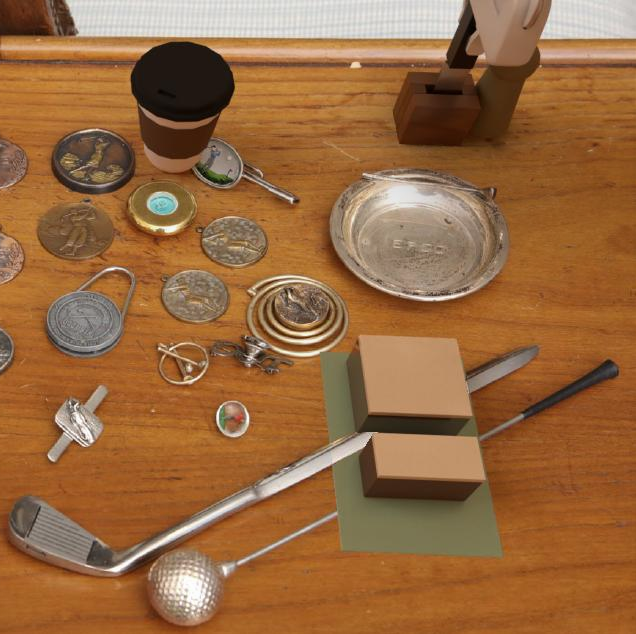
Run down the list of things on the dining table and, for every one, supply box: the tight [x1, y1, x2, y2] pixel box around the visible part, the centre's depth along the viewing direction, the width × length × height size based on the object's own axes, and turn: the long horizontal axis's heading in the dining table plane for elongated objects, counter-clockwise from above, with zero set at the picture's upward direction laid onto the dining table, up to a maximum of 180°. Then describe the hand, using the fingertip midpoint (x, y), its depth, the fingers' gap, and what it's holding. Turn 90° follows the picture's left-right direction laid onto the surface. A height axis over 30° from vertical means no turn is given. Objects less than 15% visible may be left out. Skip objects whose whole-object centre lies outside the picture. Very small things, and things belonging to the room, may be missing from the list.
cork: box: [468, 45, 542, 139], centre depth 103 cm, size 6×6×11 cm
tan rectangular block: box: [359, 433, 486, 501], centre depth 81 cm, size 9×4×5 cm, turn 88°
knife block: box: [392, 70, 481, 147], centre depth 105 cm, size 7×6×6 cm
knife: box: [431, 0, 480, 95], centre depth 99 cm, size 3×2×16 cm
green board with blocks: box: [319, 334, 505, 559], centre depth 83 cm, size 14×20×6 cm
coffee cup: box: [129, 40, 236, 174], centre depth 100 cm, size 11×11×12 cm
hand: (469, 38), depth 96 cm, fingers closed on knife, 2 cm apart
